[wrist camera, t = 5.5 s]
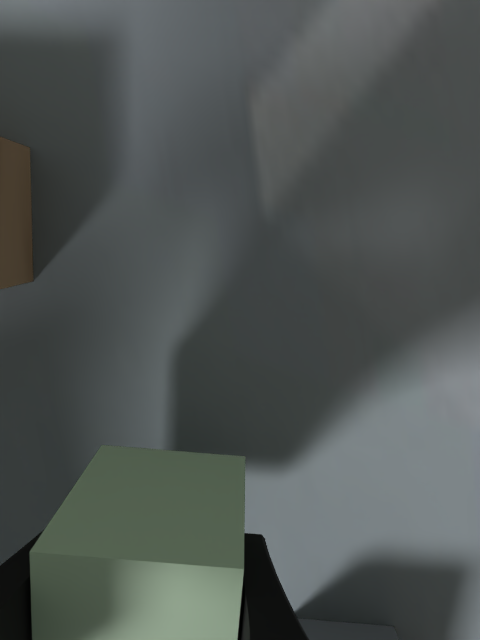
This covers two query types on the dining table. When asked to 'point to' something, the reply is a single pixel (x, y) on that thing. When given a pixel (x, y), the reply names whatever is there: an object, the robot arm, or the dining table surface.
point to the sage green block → (144, 550)
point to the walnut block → (15, 215)
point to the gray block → (346, 630)
